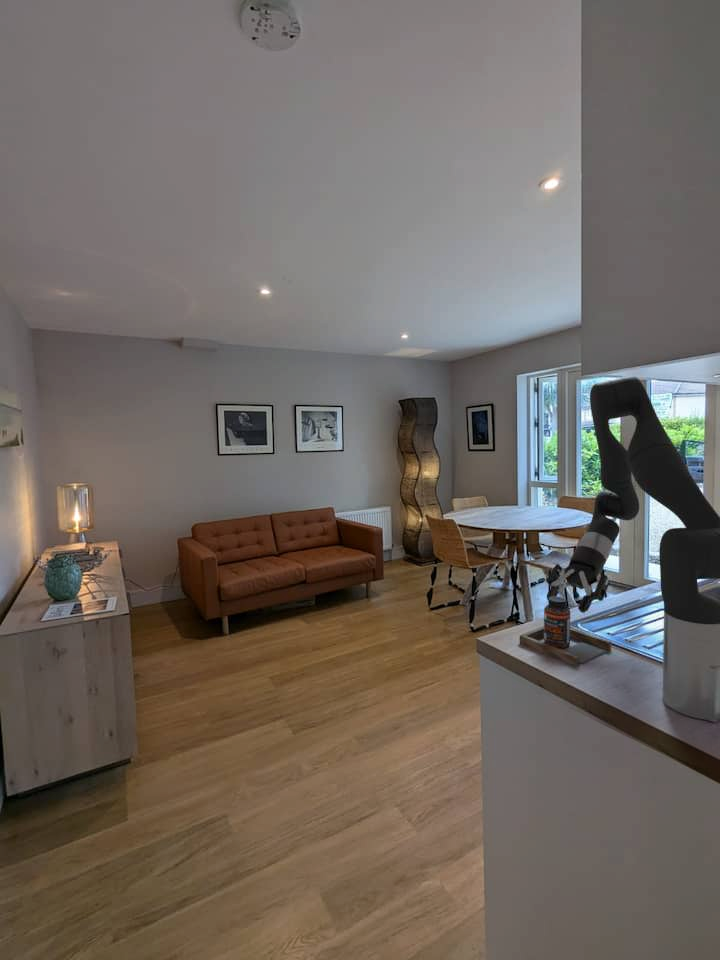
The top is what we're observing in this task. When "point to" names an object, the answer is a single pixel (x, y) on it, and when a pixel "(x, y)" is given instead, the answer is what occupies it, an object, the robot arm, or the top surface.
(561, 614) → the supplement bottle
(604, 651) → the front pad
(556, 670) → the top surface
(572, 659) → the frame
